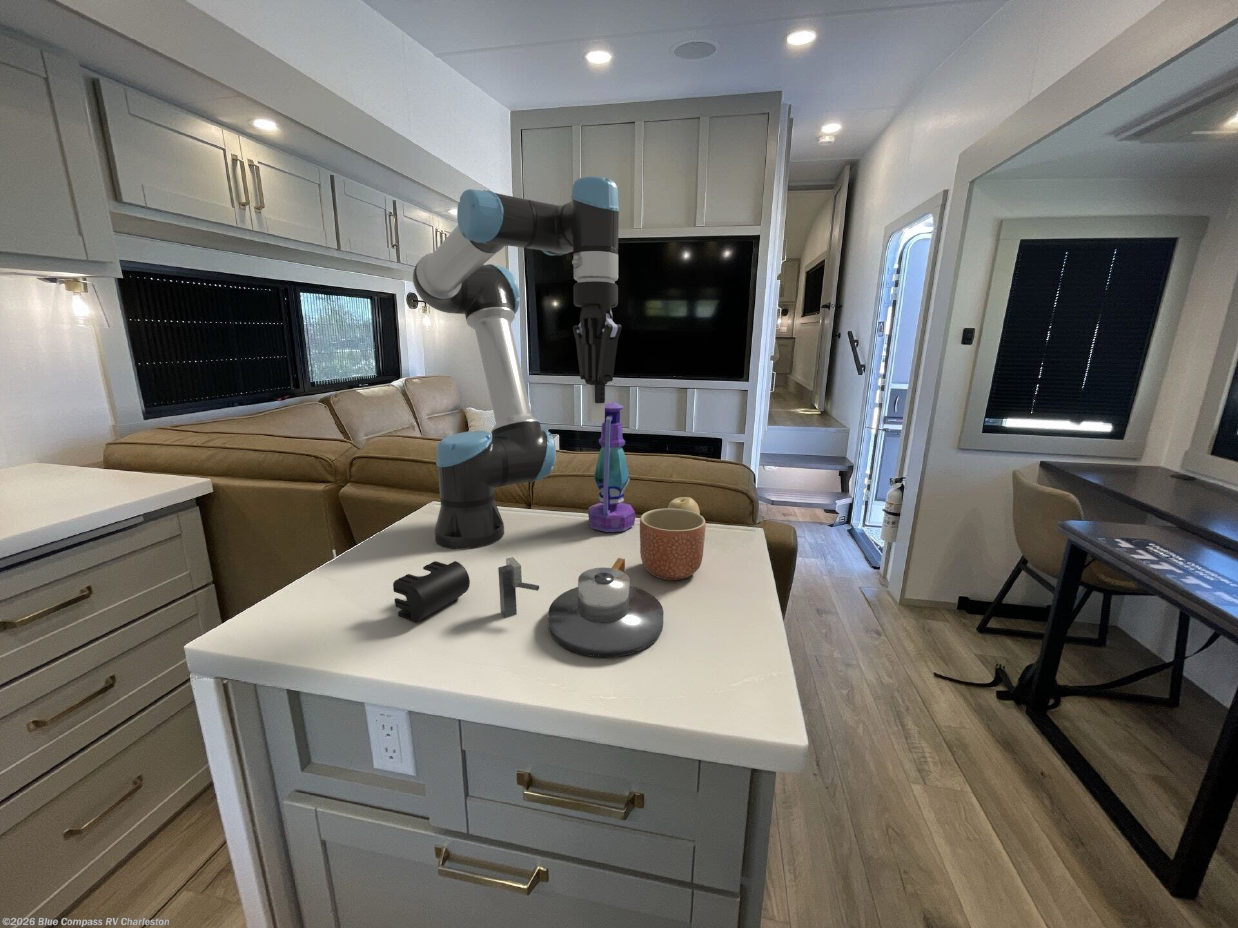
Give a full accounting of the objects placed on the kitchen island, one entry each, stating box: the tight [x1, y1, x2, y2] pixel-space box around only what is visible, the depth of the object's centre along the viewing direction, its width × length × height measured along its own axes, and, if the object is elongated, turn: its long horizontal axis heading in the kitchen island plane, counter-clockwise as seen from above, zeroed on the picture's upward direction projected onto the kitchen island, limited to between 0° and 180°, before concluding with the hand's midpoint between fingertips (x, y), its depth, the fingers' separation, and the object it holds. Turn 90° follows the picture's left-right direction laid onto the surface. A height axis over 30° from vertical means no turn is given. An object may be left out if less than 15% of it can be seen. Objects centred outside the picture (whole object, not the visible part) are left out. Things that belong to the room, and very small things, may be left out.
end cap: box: [392, 560, 471, 623], centre depth 81 cm, size 10×7×7 cm
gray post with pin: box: [497, 556, 540, 618], centre depth 79 cm, size 6×5×9 cm
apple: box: [667, 496, 700, 515], centre depth 118 cm, size 8×8×8 cm
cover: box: [577, 567, 631, 623], centre depth 76 cm, size 8×8×5 cm
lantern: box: [587, 401, 636, 533], centre depth 115 cm, size 13×12×30 cm
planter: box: [639, 507, 707, 581], centre depth 94 cm, size 12×12×11 cm
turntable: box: [547, 557, 664, 658], centre depth 76 cm, size 18×18×7 cm
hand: (596, 420), depth 88 cm, fingers closed
